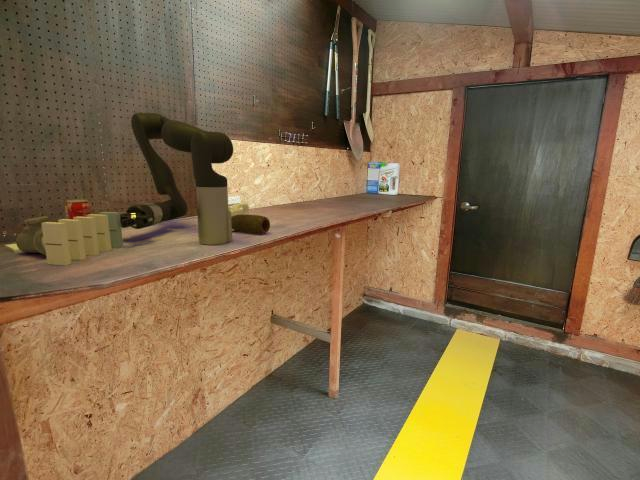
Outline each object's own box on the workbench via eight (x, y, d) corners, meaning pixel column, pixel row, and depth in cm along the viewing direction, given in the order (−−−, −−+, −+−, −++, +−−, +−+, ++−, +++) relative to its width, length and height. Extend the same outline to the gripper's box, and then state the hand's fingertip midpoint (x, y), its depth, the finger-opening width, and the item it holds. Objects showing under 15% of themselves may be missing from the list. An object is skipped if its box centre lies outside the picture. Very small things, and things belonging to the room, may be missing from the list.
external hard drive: (5, 250, 100) (57, 242, 110) (14, 255, 95) (68, 246, 105) (4, 244, 100) (56, 237, 110) (14, 249, 95) (67, 241, 105)
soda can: (66, 237, 114) (60, 200, 112) (91, 234, 119) (86, 198, 117) (72, 241, 110) (66, 202, 107) (98, 238, 115) (93, 200, 112)
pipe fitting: (76, 250, 97) (64, 213, 94) (45, 260, 89) (31, 220, 87) (47, 251, 101) (36, 215, 99) (16, 260, 94) (2, 222, 91)
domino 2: (68, 257, 92) (63, 219, 90) (86, 258, 91) (81, 219, 89) (63, 259, 90) (57, 220, 88) (80, 260, 90) (75, 220, 87)
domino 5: (107, 245, 105) (103, 211, 103) (123, 246, 104) (119, 212, 102) (103, 247, 103) (99, 212, 101) (119, 247, 103) (115, 213, 101)
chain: (241, 215, 167) (240, 202, 166) (252, 216, 165) (252, 203, 164) (198, 225, 140) (197, 210, 138) (211, 227, 138) (210, 211, 136)
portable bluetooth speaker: (272, 233, 128) (272, 214, 127) (261, 236, 122) (261, 217, 121) (238, 229, 134) (238, 211, 133) (226, 232, 128) (225, 214, 127)
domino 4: (95, 249, 101) (91, 214, 98) (111, 250, 100) (107, 214, 98) (91, 250, 99) (86, 214, 97) (107, 251, 98) (103, 215, 96)
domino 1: (53, 262, 88) (47, 221, 85) (71, 263, 87) (65, 222, 85) (47, 264, 86) (41, 223, 84) (65, 265, 85) (59, 223, 83)
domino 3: (82, 253, 96) (78, 216, 94) (99, 254, 95) (95, 217, 93) (77, 254, 95) (73, 217, 93) (94, 255, 94) (90, 218, 92)
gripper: (123, 203, 117) (84, 209, 102) (163, 204, 115) (130, 211, 100) (126, 225, 119) (87, 235, 103) (165, 227, 117) (132, 237, 101)
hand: (108, 223), depth 102 cm, fingers open, 8 cm apart
